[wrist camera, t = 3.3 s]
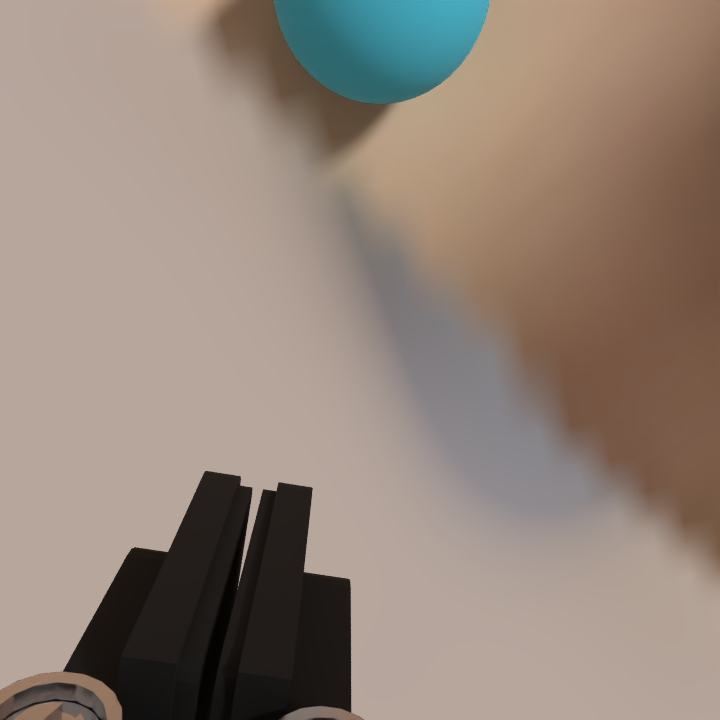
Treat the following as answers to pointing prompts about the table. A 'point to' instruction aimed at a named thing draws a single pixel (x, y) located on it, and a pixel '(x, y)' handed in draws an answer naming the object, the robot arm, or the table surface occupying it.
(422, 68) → the ball
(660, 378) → the table surface
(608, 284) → the table surface
